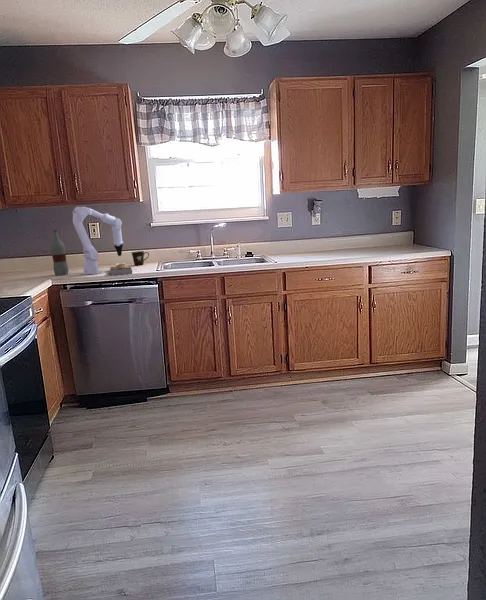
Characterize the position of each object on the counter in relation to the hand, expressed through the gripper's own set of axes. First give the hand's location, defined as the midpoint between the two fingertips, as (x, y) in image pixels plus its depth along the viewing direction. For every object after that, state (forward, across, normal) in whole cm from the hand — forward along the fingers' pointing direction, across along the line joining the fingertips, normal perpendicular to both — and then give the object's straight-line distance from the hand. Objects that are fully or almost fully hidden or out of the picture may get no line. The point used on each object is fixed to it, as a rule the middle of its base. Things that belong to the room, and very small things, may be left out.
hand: (119, 255), depth 321 cm
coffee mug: (+10, +12, -14) cm, 21 cm away
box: (+9, -21, 0) cm, 23 cm away
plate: (+9, -9, 0) cm, 13 cm away
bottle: (+10, -2, +39) cm, 40 cm away
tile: (+7, -10, 0) cm, 12 cm away
